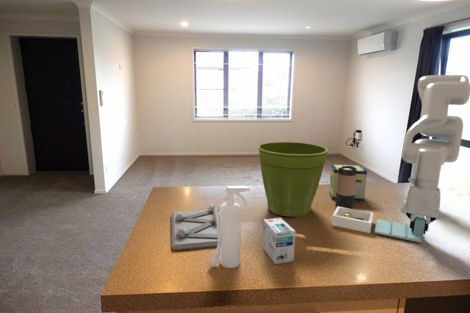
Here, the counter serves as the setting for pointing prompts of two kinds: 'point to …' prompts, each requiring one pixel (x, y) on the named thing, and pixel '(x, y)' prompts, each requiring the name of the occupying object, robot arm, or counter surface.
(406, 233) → the lid
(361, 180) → the protein box
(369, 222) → the tub
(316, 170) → the plant pot
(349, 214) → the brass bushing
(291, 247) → the light bulb box
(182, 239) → the grey zigzag panel
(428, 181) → the robot arm
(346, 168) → the travel mug
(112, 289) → the counter surface
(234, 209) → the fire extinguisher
